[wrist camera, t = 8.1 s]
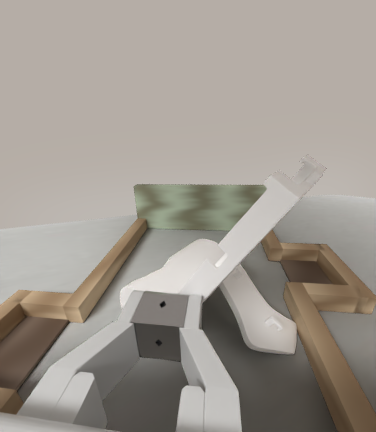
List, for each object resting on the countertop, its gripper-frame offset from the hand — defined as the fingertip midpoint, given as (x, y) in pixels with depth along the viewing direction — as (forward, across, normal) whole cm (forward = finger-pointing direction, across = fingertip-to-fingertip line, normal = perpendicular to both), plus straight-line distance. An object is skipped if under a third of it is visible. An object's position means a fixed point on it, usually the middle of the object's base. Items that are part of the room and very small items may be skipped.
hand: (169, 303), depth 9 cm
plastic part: (+4, -2, +6) cm, 8 cm away
